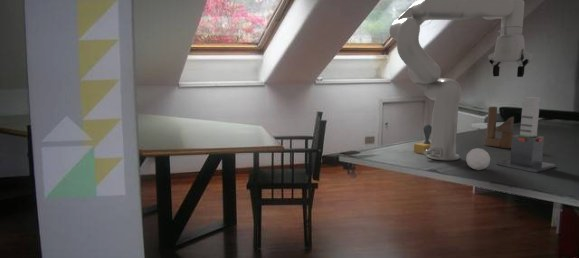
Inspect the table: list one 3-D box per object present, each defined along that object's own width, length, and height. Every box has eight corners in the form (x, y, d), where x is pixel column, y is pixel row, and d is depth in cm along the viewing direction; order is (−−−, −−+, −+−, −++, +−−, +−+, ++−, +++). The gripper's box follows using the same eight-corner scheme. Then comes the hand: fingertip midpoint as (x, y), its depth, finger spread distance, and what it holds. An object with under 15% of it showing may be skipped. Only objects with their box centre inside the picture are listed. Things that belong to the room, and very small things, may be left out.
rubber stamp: (424, 154, 175) (425, 126, 173) (413, 152, 180) (414, 124, 178) (439, 151, 180) (441, 124, 178) (428, 149, 185) (429, 122, 183)
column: (529, 148, 151) (533, 98, 148) (518, 146, 154) (522, 97, 151) (536, 146, 153) (540, 97, 150) (525, 144, 156) (529, 96, 154)
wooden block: (508, 148, 185) (512, 108, 183) (484, 145, 193) (486, 106, 190) (511, 147, 188) (515, 107, 185) (487, 144, 196) (490, 106, 193)
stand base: (535, 172, 145) (538, 141, 143) (496, 164, 157) (499, 135, 155) (555, 166, 153) (558, 137, 151) (516, 159, 164) (519, 132, 163)
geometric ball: (477, 175, 152) (486, 156, 153) (488, 173, 144) (498, 153, 146) (458, 164, 153) (468, 146, 154) (468, 161, 145) (478, 142, 146)
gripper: (484, 33, 168) (481, 76, 171) (528, 30, 154) (525, 77, 157) (495, 34, 172) (492, 75, 175) (539, 31, 158) (535, 76, 161)
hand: (507, 76), depth 166 cm, fingers open, 9 cm apart
